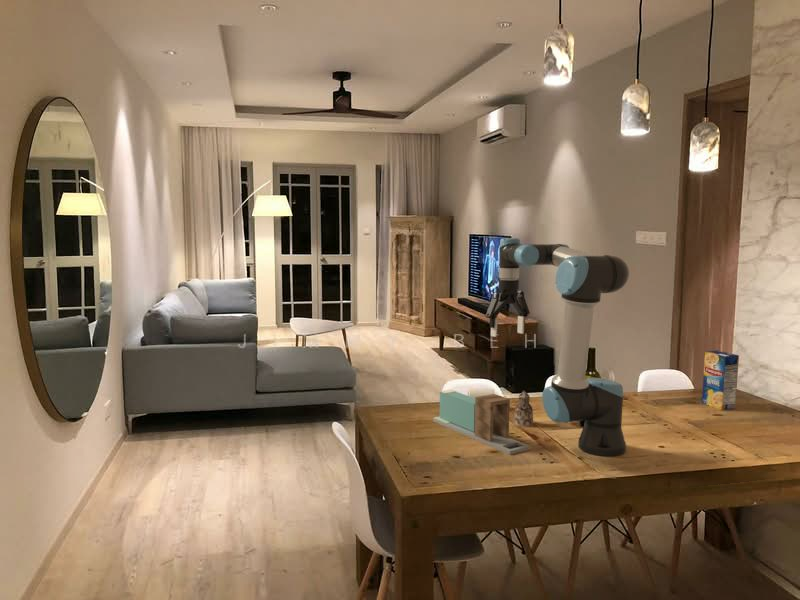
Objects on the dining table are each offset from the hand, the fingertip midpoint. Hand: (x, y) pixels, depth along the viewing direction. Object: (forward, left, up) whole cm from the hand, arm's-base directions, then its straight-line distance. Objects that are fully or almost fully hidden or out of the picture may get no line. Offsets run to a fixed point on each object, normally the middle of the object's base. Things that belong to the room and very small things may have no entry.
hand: (507, 334), depth 253 cm
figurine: (-11, +1, -32) cm, 34 cm away
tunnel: (-19, +23, -30) cm, 43 cm away
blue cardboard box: (-36, -84, -32) cm, 97 cm away
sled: (-3, +24, -30) cm, 38 cm away
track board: (-12, +23, -32) cm, 41 cm away
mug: (+15, 0, -32) cm, 35 cm away
